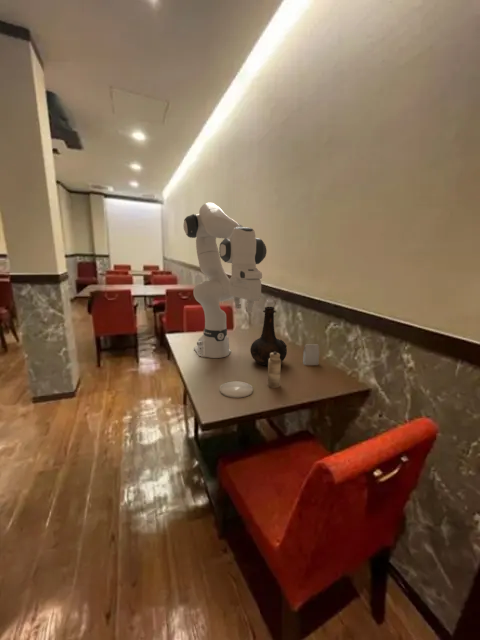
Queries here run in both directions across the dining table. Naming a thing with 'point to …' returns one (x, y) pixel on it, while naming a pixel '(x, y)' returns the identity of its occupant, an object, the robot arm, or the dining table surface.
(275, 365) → the pepper mill
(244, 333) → the dining table surface
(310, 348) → the white box
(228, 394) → the cream plate
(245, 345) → the dining table surface
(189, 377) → the dining table surface
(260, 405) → the dining table surface
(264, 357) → the glass bottle
